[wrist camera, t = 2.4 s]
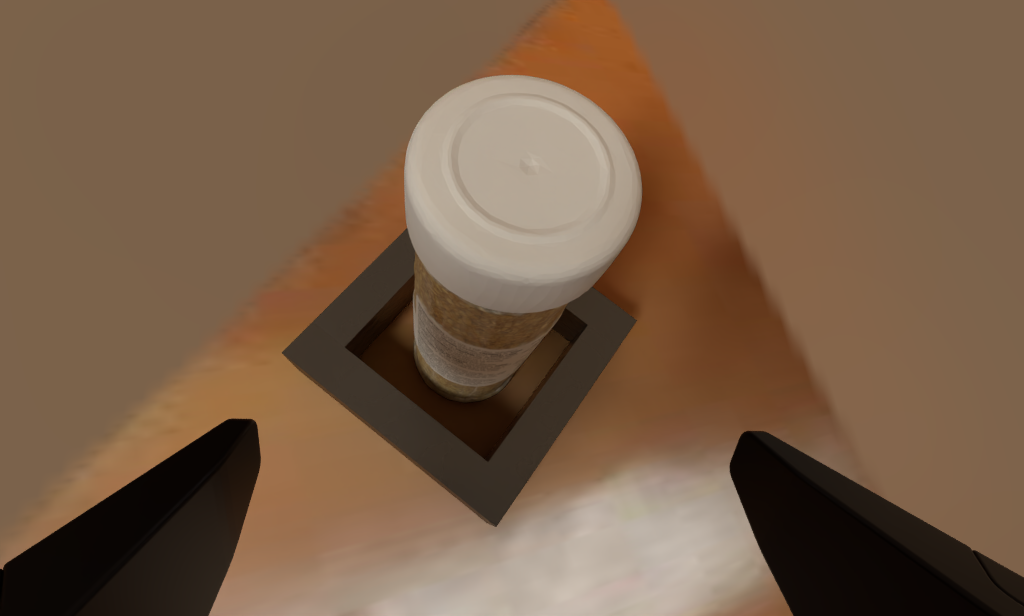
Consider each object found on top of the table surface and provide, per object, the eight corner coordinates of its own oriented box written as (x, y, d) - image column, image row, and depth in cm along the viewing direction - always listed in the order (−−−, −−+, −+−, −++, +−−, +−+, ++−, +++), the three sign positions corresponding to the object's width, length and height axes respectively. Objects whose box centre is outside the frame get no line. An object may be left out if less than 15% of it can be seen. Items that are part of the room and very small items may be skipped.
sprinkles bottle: (461, 282, 23) (513, 26, 10) (539, 348, 22) (694, 164, 10) (388, 357, 21) (345, 160, 9) (472, 429, 21) (555, 332, 8)
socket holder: (486, 522, 19) (496, 527, 17) (297, 368, 20) (281, 353, 18) (614, 337, 23) (637, 320, 21) (449, 212, 24) (453, 182, 21)
